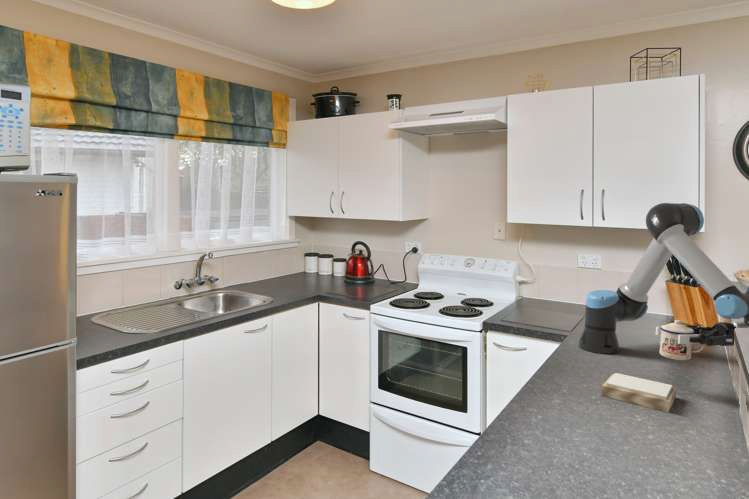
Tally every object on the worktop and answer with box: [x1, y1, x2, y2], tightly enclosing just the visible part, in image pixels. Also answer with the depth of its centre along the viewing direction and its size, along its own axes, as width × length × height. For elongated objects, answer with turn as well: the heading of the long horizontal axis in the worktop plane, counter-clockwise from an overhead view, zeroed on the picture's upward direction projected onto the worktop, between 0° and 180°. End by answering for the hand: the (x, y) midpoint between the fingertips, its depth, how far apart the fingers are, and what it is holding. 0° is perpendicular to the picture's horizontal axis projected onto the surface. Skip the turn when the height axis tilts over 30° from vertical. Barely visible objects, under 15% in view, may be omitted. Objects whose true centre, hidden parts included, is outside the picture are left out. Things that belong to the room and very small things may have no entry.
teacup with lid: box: [659, 319, 705, 361], centre depth 157 cm, size 12×9×12 cm
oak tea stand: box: [600, 372, 677, 413], centre depth 152 cm, size 18×14×4 cm
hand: (667, 334), depth 157 cm, fingers closed on teacup with lid, 9 cm apart
